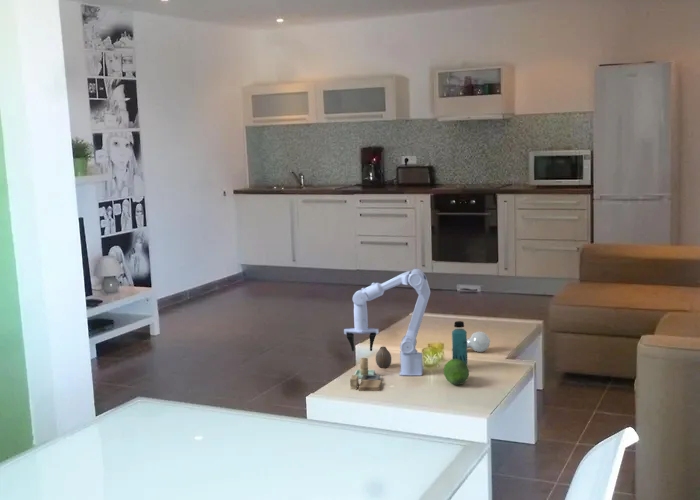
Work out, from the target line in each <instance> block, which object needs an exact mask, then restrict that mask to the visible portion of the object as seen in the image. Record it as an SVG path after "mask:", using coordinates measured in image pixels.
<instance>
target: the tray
mask: <svg viewBox="0 0 700 500" xmlns="http://www.w3.org/2000/svg"><path fill="white" fill-rule="evenodd" d="M353 375H358V380H361V379H362V377H363V375H361V371H360V369H356V370H355V372H354V374H353ZM368 375H376V370H375V369H368Z"/></svg>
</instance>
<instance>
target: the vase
mask: <svg viewBox="0 0 700 500" xmlns="http://www.w3.org/2000/svg"><path fill="white" fill-rule="evenodd" d="M375 363H376V365H377V366H378V367H379V368H381V369H386V368H389V367H390V365H391V364H392V354H391V352H390V351H389V350H388V349H387V347H386V346H380V347H379V349H378V351H377V352H376V355H375Z"/></svg>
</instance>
